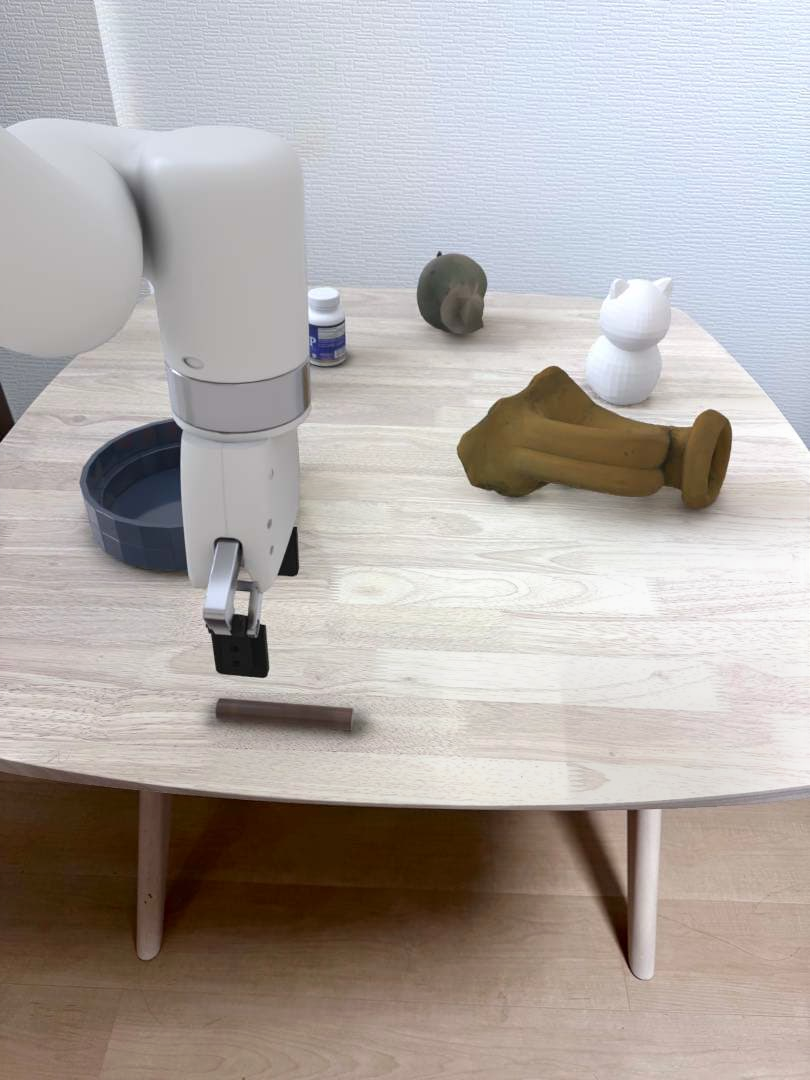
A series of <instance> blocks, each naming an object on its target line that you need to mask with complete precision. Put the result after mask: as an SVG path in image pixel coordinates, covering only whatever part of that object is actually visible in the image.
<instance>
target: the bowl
mask: <svg viewBox="0 0 810 1080" xmlns="http://www.w3.org/2000/svg"><path fill="white" fill-rule="evenodd" d="M182 433H183V429H182V428H181V427H180V426H178V425H177V423H176V422H175V421H174V419H173V418H169V419H163V420H157V421H152V422H149V423H147V424H144V425H141V426H138V427H135V428H132V429H129V430H127V431H125V432H123V433H121V434H119V435H117V436H116V437H114V438H111V439H109V440H108V441H107V442H105V443H104V444H103V445H102V446H100V447H99V448H98V449H96V450H95V451H94V452H93V453H91V455H90V456H89V458H88V459H87V461H86V462H85V464H84V465H83V467H82V469H81V474H80V478H79V481H78V483H79V484H78V485H79V487H80V491H81V495H82V499H83V503H84V507H85V511H86V514H87V518H88V521H89V525H90V529H91V532H92V535H93V536H92V537H93V539H94V541H95V542H96V543H97V544H98V545H99V546H100V547H101V549H102V550H103V551H104V552H105V553H106V554H108V555H109V556H111V557H113V558H115V559H117V560H118V561H121V562H122V563H124V564H127V565H130V566H134V567H138V568H142V569H145V570H151V571H163V572H164V571H166V572H185V571H186V572H188V567H187V558H186V547H185V536H184V525H183V513H182V498H181V439H182Z"/></svg>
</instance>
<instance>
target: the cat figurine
mask: <svg viewBox="0 0 810 1080" xmlns="http://www.w3.org/2000/svg"><path fill="white" fill-rule="evenodd" d="M609 288H610V289H609V292H608V294H607V296H606V297H605V298H604V300H603V302H602V303H601V306H600V308H599V309H600V310H599V313H598V321H599V322H598V325H599V327H600V330H601V333H602V335H600V336H599V337H597V339H596V340H595V341H594V342H593V344H592V345H591V346H590V349H589V351H588V353H587V357H586V360H585V364H584V365H585V366H584V378H585V381H586V382H587V384H588V386H589V387H590V388H591V390H593V391H594V393H595V394H596V395H597V396H598V397H600V399H602V401H605V402H606V403H608V404H612V405H620V406H621V405H622V406H629V405H637V404H640V403H642V402H644V401H646V400H647V399H648V398H649V397H650V396H651V394H652V393H653V392H654V391H655V388H656V386H657V384H658V382H659V379H660V377H661V374H662V369H663V368H662V367H663V361H662V354H661V351H660V349H659V346H658V344H659V343H660V342H661V341H663V340H664V339H665V338H666V335H667V333H668V332H669V330H670V325H671V321H672V320H671V319H672V307H671V302H670V297H671V296H672V292H673V288H674V280H673V278H672V277H667V276H666V277H663V278H660V279H657V280H655V281H651V280H647V279H643V278H641V279H640V278H636V279H635V278H634V279H629V280H626V279H624V278H621V277H618V278H615V279H614V281H612V283H611V285H610V287H609Z"/></svg>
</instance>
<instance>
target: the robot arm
mask: <svg viewBox="0 0 810 1080" xmlns="http://www.w3.org/2000/svg"><path fill="white" fill-rule="evenodd" d="M304 178H305V177H304V169H303V165H302V160H301V159H300V157H299V154H298V152H297V151H296V149H295V148H294V146H293V145H292V144H291V143H290V142H289V141H287V140H286V139H285V138H283V137H282V136H281V135H278V134H275V133H273V132H270V131H267V130H264V129H260V128H255V127H249V126H239V125H219V124H218V125H217V124H216V125H215V124H214V125H197V126H186V127H181V128H177V129H172V130H169V131H160V130H149V129H139V128H132V127H123V126H116V125H109V124H103V123H96V122H89V121H83V120H76V119H69V118H59V117H57V118H55V117H53V118H52V117H41V118H40V117H39V118H31V119H26V120H22V121H19V122H16V123H14V124H11V125H9V126H8V127H3V126H2V125H1V124H0V347H2V348H4V349H7V350H9V351H12V352H15V353H18V354H19V353H20V354H24V355H27V356H28V355H29V356H32V357H37V358H53V359H57V358H58V359H59V358H67V357H75V356H76V357H77V356H80V355H83V354H85V353H88V352H92V351H95V350H96V349H98V348H99V347H101V346H103V345H105V344H106V343H108V342H109V341H111V340H112V339H113V338H115V336H116V335H117V334H118V333H119V332H120V331H121V330H122V329H123V328H124V327H125V325H126V324H127V322H128V321H129V319H130V318H131V317H132V315H133V313H134V311H135V309H136V307H137V305H138V301H139V300H140V295H141V290H142V281H143V279H145V280H147V281H149V282H150V284H151V285H152V287H153V291H154V292H153V293H154V299H155V305H156V312H157V313H156V314H157V319H158V326H159V335H160V341H161V348H162V355H163V359H164V367H165V372H166V380H167V387H168V395H169V401H170V409H171V410H170V411H171V416H172V419H174V421H175V422H176V423H177V425H178V426H180V427H181V428H182V429H183V433H182V439H181V498H182V513H183V525H184V536H185V547H186V558H187V567H188V570H187V574H188V575H187V576H188V579H189V582H190V584H191V585H192V587H193V588H194V589H203V590H206V594H205V598H204V603H203V608H202V619H203V621H204V623H205V628H207V632H208V634H210V637H211V645H212V652H213V661H214V665H215V666H214V667H215V672H217V673H218V674H220V675H222V676H223V675H225V676H233V677H245V678H254V679H255V678H257V679H266V678H267V677H268V675H269V672H270V658H269V657H270V656H269V646H268V635H267V624H263V623H261V619H262V608H263V607H262V606H263V598H264V593H266V592H267V591H269V590H270V589H271V588H272V587H274V584H275V582H276V580H277V577H278V576H280V577H292V578H294V577H297V576H298V574H299V571H300V554H299V532H298V529H299V528H298V526H295V523H296V519H297V515H298V512H299V507H300V498H301V497H300V496H301V467H300V466H301V465H300V447H299V435H298V434H299V433H298V427H299V426H300V425H302V424H304V422H305V421H306V420H307V419H308V417H309V416H310V414H311V411H312V385H311V383H312V382H311V381H312V380H311V378H312V377H311V363H310V351H309V316H308V307H309V305H308V292H309V291H308V290H309V289H308V263H307V262H308V258H307V254H308V253H307V225H306V199H305V198H306V196H305V180H304ZM241 569H245V571H246V573H247V575H248V576H249V577H250V580H251V581H250V580H241V579H239V575H240V570H241ZM236 592H247V593H249V595H248V608H247V614H246V615H245V614H241V613H236V609H235V596H236V595H235V594H236Z"/></svg>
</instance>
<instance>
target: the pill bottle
mask: <svg viewBox="0 0 810 1080" xmlns="http://www.w3.org/2000/svg"><path fill="white" fill-rule="evenodd" d="M340 298H341V297H340V292H339V290H338V289H336V288H333V287H328V286H327V287H326V286H324V287H323V286H322V287H321V286H320V287H315V288H312V289H310V290H309V291H308V316H309V351H310V364H312V365H314V366H319V367H334V366H337V365H340V364H342V363H344V362H345V361H346V358H347V342H346V340H347V339H346V313H345V310H344V309H343V308H342V307H341V306H340V301H341V299H340Z"/></svg>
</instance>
